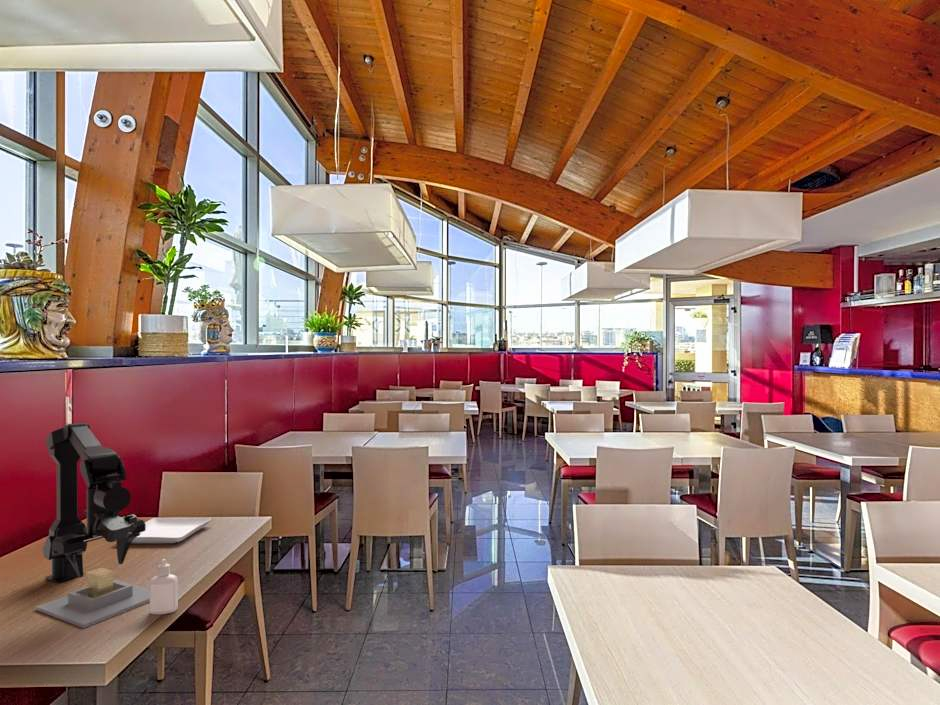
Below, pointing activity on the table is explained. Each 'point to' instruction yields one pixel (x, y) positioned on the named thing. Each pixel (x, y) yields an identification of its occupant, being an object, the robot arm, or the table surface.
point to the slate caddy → (96, 604)
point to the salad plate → (170, 529)
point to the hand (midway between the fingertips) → (101, 570)
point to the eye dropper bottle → (163, 591)
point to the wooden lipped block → (100, 582)
